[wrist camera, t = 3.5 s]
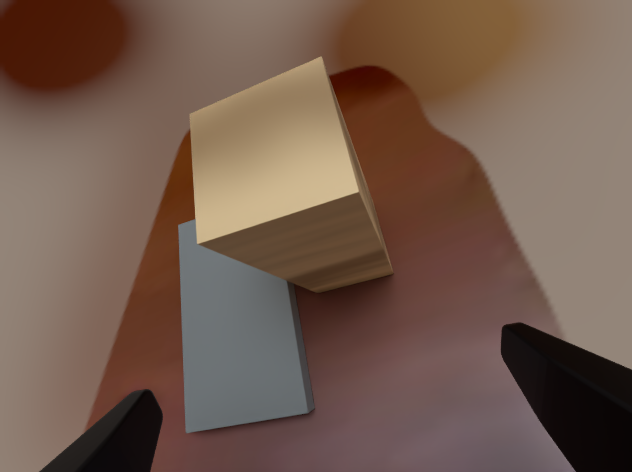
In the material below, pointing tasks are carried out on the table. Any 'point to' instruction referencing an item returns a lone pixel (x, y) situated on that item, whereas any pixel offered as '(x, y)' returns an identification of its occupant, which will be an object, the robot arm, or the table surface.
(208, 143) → the block
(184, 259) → the slate board
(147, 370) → the table surface
